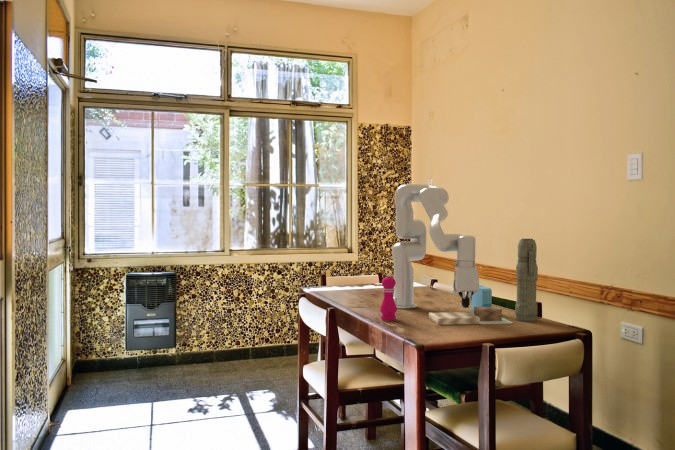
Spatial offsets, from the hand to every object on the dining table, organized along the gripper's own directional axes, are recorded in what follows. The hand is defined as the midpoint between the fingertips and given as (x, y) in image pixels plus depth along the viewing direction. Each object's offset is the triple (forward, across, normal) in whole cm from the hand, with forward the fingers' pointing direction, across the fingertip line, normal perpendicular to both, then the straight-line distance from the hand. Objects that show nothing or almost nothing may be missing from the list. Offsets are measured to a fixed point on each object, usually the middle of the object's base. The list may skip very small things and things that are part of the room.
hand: (465, 307), depth 233 cm
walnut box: (+5, +10, -1) cm, 11 cm away
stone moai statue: (+6, +27, -2) cm, 28 cm away
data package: (+6, +14, +17) cm, 23 cm away
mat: (+6, +11, 0) cm, 12 cm away
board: (+6, -5, 0) cm, 8 cm away
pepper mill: (+6, -32, +6) cm, 33 cm away
